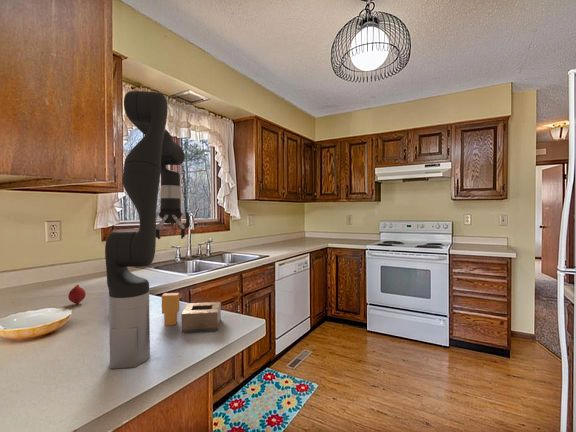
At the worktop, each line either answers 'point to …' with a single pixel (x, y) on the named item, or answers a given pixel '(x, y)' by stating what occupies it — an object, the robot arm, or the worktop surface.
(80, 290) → the onion
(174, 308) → the orange stepped block
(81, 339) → the worktop surface
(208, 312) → the base
